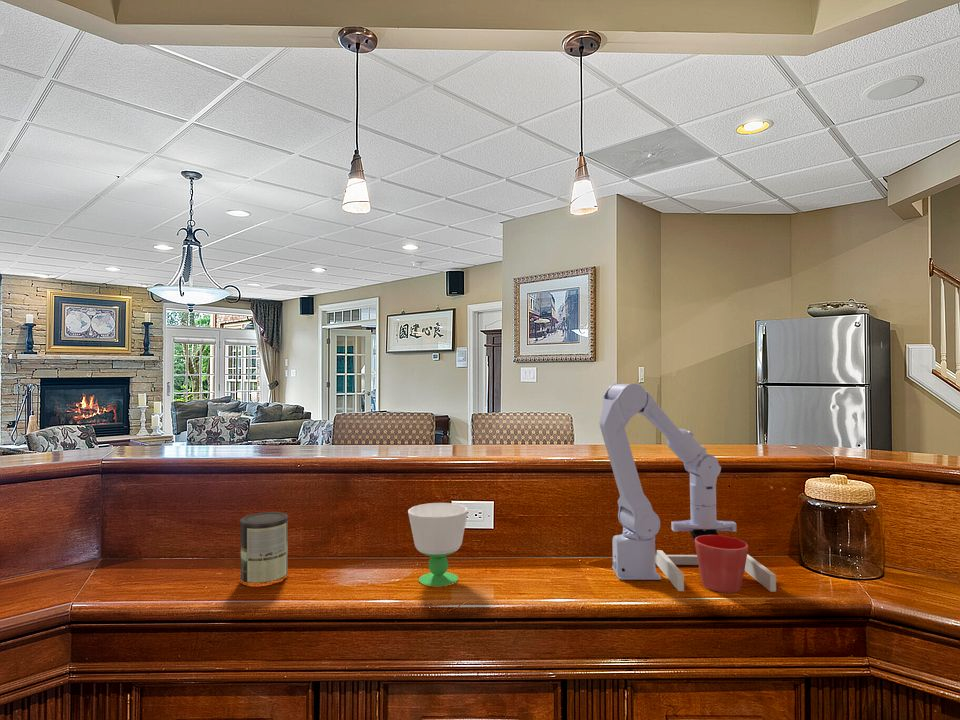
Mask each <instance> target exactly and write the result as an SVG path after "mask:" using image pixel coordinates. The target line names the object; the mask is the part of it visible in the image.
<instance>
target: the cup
mask: <svg viewBox="0 0 960 720" xmlns="http://www.w3.org/2000/svg"><path fill="white" fill-rule="evenodd" d="M468 512H469V510H468V507H467V506H464V505H463V504H459V503H452V502H451V503H450V502H430V503H424V504H418V505H414V506H412V507H410V508H409V509H408V510H407V513H408V518H409V519H408V520H409V524H410V528H411V529H410V530H411V533H412V537H413V538H412V539H413V544H414V547H415V548H416V550H417V551H418V552H420V553H421V554H423V555H424V556H428V557H430V558H429V560H428V570H429V571H430V572H428V573H425V574H422V575H421V576H420V577H419V578H418V583H419V582H420V583H419V584H421V583H422V584H424V585H427V586H426V587H428V586H429V585H430V586H445V585H449V584H452V583H455V582H456V581H457V580H458V581H459V576H458V575H457V574H455V573H452V572H447V570H448V569H449V561H448V559H447V556H449V555H452V554H454V553H456V552H457V551H458V550H459V549H460V548H461V546H462V545H463V539H464V534H465V529H466V523H467V518H468ZM458 581H457V582H458ZM457 582H456V583H457ZM456 583H455V584H456ZM422 584H421V585H422ZM424 585H423V586H424ZM452 585H453V584H452ZM445 587H446V586H445Z"/></svg>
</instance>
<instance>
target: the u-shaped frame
mask: <svg viewBox="0 0 960 720" xmlns="http://www.w3.org/2000/svg"><path fill="white" fill-rule="evenodd" d="M655 565H656V566H657V567H658V568H659V569H660V570H661V571H662V573H663V574H664V576H665V577H666V578H667V579H668V581H670V582H671V584H672V585H673V586H674V587H675V589H676V590H677V591H678V592H685V576H684V575H685V574H684V573H683V572H682V571H681V569H679V568H678V566H682V565H683V566H684V565H685V566H699V564H698V558H697V554H666V553H665V552H664V551H663V550H661V549H656V554H655ZM744 572H746V573H747V574H748V575H750V576H751V577H752V578H753V579H754V580H756V581H757V582H758V583H759V584H760V585H762V586H763V587H764V588H765V589H767V590H768V591H769V592H770V593H771V592H773V593H774V592H776V593H777V574H776V573H774V572H773V571H771V570H770V569H769V568H767V567H766V566H764V565H763V564H762V563H760V562H759V561H758V560H756V559H755V558H753V556H751V555H750V554H748V553H747V559H746V564H745V570H744Z"/></svg>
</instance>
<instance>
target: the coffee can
mask: <svg viewBox="0 0 960 720" xmlns="http://www.w3.org/2000/svg"><path fill="white" fill-rule="evenodd" d="M288 520H289V515H288V514H287V513H284V512H279V511H265V512H257V513H252V514H248V515H245V516H244V517H242V518H240V519H239V523H240V581H241V580H242V581H244V582H247V583H267V582H271V581H275V580H278V579H281V578H283V577H285V576H286V575H287V574H288V573H289V572H288V562H289V561H288V560H289V559H288V549H289V548H288V546H289V545H288Z"/></svg>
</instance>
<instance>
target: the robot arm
mask: <svg viewBox="0 0 960 720" xmlns="http://www.w3.org/2000/svg"><path fill="white" fill-rule="evenodd" d="M601 399H602V407H601V412H600V417H599V423H598V425H599V429H600V431H601V432H600V433H601V434H602V438H603V442H604V445H605V449H606V452H607V456H608V459H609V462H610V467H611V469H612V473H613V476H614V479H615V484H616V486H617V490H618V494H619V498H618V500H617V505H618V513H617V518H618V522H619V523H620V525H621V526H622V533H621V534H616V535H613V537H612V543H611V544H612V566H611V569H613V572H614V574H615V575H616V577H617V579H618V580H621V581H622V580H625V581H626V580H627V581H629V580H631V581H633V580H637V581H638V580H640V581H641V580H642V581H647V580H649V581H653V580H654V581H655V580H659V581H660V580H662V577H661V575H660V574H659V573H658V571H657V570H656V566H657V565H656V536H657V534H658V533H659V531H660V528H661V520H660V517H659V516H658V514H657V513H656V512H655V511H654V509H653V507H652V503H651V502H650V500H649V499H648V497H647V496H646V495H645V493H644V490H643V487H642V483H641V480H640V477H639V472H638V469H637V465H636V463H635V460H634V455H633V453H632V449H631V446H630V442H629V439H628V434H627V431H626V426H627V425H628V423H629V422H630V420H631V418H633V417H634V416H636V415H637V414H639V415H643V417H644V418H646V419H647V420H648V421H649V422H650V423H651V424H652V425H653V426H654V427H655V428H656V429H657V430H659V432H660V433H661V434H662V435H663V436H664V437H665V438H666V446H667V447H668V448H669V449H670V451H672V452H673V453H674V454H675V456H676V457H677V458H678V459H679V460H681V462H682V463H683V466H684V467H683V468H684V470H685V471H686V472H688V473H689V499H690V503H689V504H690V505H689V506H690V507H689V509H690V519H687V520H678V521H677V520H676V521H675V520H673V521H671V525H670V527H671V529H670V530H672V531H673V532H674V533H677V532H689V533H690V535H691V537H692V539H693V541H694V542H695V538H696V537H698V536H702V535H719V533H718V532H736V533H737V523H736V522H735V521H734V520H733V521H732V520H719V519H718V520H717V481H718V480H717V478H718V476H719V475H720V473H721V470H722V466H721V465H720V464H719V461H718V459H717V457H716V456H714V455H713V454H709V453H707V448H706V447H705V445H701V444H700V443H699V442H698V440H697V439H696V438H694V436H695V435H694V434H695V433H693V432H692V430H687V429H685V428H678V427H677V426H676V424H675V423H674V421H672V419H671V418H670V417H669V416H668V415H667V414H666V413H665V411H664V410H663V409H662V408H661V406H660V405H659V404H658V403H657V402H656V400H655V399H654V397H653V396H652V394H651V393H649V392H648V391H646V390H645V388H644V387H643V386H642V385H641V384H638V383H621V382H615V383H612V384H611V385H609V387H608V388H607V389H606V390H605V391H604V394H603V395H602V397H601Z"/></svg>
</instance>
